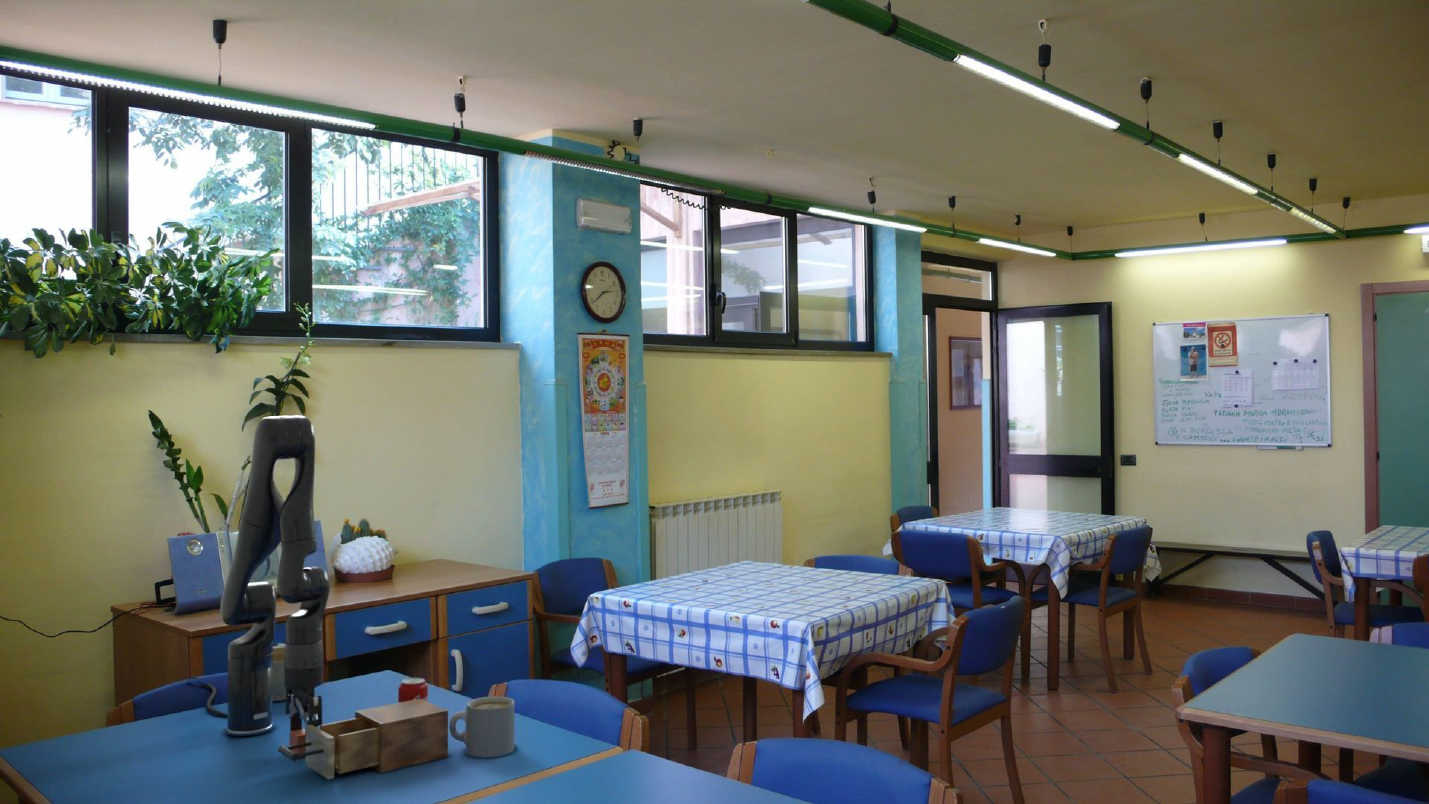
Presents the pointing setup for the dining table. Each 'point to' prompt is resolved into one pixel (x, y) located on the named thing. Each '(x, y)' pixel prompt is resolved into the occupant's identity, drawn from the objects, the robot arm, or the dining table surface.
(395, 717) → the cabinet
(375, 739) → the drawer
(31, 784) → the dining table surface
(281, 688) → the planter bowl
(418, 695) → the beverage can
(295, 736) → the block
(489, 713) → the coffee mug
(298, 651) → the robot arm
